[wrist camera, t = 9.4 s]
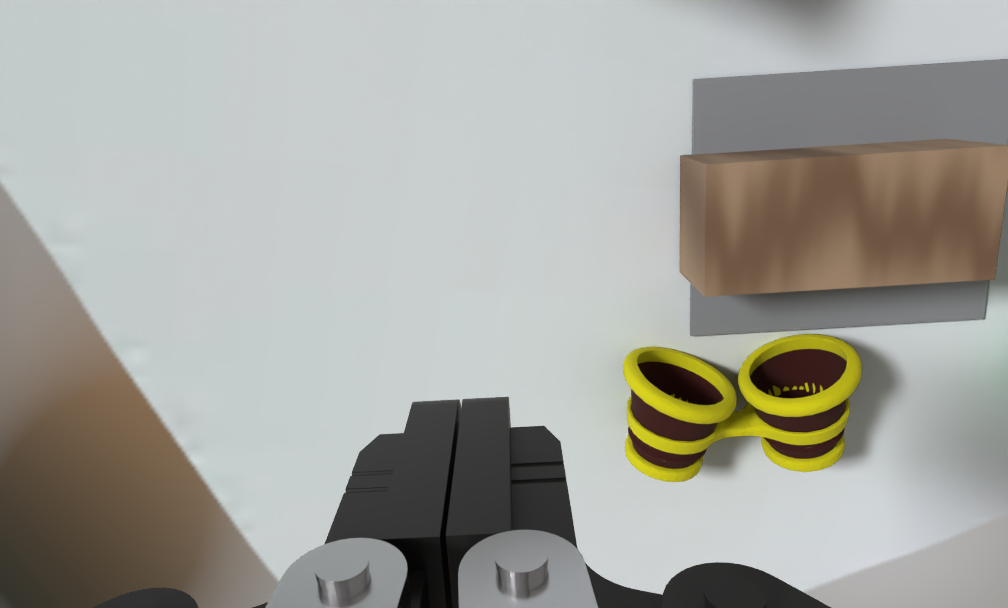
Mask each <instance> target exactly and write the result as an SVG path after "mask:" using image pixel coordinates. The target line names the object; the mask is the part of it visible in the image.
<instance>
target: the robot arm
mask: <svg viewBox="0 0 1008 608" xmlns="http://www.w3.org/2000/svg"><path fill="white" fill-rule="evenodd" d="M94 608H198V606H197V604H196V602H195V600H194V599H193V598H192V597H191V596H190V595H188V594H186V593H185V592H183V591H180V590H176V589H171V588H150V589H143V590H138V591H134V592H130V593H127V594H123V595H120V596H117V597H115V598H113V599H110V600H108V601H106V602H104V603H102V604H100V605H98V606H96V607H94ZM253 608H831V607H829V606H827V605H825V604H823V603H822V602H820V601H818V600H816V599H814V598H813V597H811V596H809V595H807V594H805V593H803V592H802V591H800V590H798V589H796V588H794V587H792V586H791V585H789V584H787V583H785V582H783V581H781V580H780V579H778V578H776V577H774V576H772V575H770V574H768V573H766V572H764V571H761V570H758V569H755V568H752V567H749V566H744V565H740V564H733V563H717V562H716V563H705V564H700V565H696V566H693V567H690V568H687V569H685V570H683V571H681V572H680V573H678V574H677V575H675V576H674V577H673V578H672V579H671V580H670V581H669V583H668V584H667V585H666V587H665V590H664V592H663V595H661V594H656V593H650V592H645V591H640V590H635V589H631V588H627V587H624V586H621V585H618V584H615V583H613V582H611V581H609V580H607V579H605V578H603V577H601V576H600V575H598V574H597V573H595V572H594V571H593V570H592V569H591V568H590V567H589V566H588V565H587V564H586V563H585V561H584V559H583V556H582V555H581V553H580V552H579V550H578V548H577V544H576V538H575V532H574V525H573V519H572V513H571V506H570V500H569V494H568V487H567V482H566V475H565V469H564V464H563V456H562V450H561V443H560V441H559V440H558V439H557V438H556V437H555V436H554V435H553V434H552V433H551V432H550V431H549V430H548V429H547V428H546V427H545V426H532V427H513V428H511V424H510V408H509V397H495V398H476V399H463V401H462V408H461V404H460V400H441V401H422V402H413V403H412V406H411V409H410V413H409V417H408V420H407V424H406V427H405V431H404V433H400V434H380V435H379V436H377V437H376V438H375V439H374V440H373V441H372V442H371V443H369V444H368V445H367V446H366V447H365V448H364V449H363V450H362V451H360V453H359V455H358V458H357V460H356V463H355V466H354V468H353V471H352V476H350V479H349V481H348V484H347V487H346V493H344V495H343V497H342V500H341V502H340V505H339V508H338V510H337V513H336V515H335V518H334V521H333V523H332V526H331V529H330V531H329V534H328V536H327V539H326V542H325V544H324V545H322V546H319V547H317V548H315V549H313V550H311V551H309V552H308V553H306V554H304V555H303V556H301V557H300V558H299V559H298V560H296V561H295V562H294V563H293V564H292V565H291V566H290V567H289V568H288V569H287V570H286V572H285V573H284V575H283V576H282V578H281V580H280V582H279V583H278V585H277V587H276V589H275V591H274V593H273V594H272V596H271V598H270V600H269V602H267V603H265V604H262V605H259V606H256V607H253Z"/></svg>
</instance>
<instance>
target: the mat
mask: <svg viewBox="0 0 1008 608" xmlns="http://www.w3.org/2000/svg"><path fill="white" fill-rule="evenodd" d="M934 139H955V140H965V141H975V142H985V143H995V144H1005V145H1007V142H1008V59H1000V60H985V61H969V62H954V63H938V64H923V65H908V66H892V67H877V68H861V69H846V70H830V71H815V72H800V73H784V74H769V75H753V76H738V77H722V78H707V79H693V116H692V155H696V154H712V153H728V152H743V151H759V150H775V149H791V148H807V147H823V146H839V145H855V144H871V143H886V142H902V141H918V140H934ZM988 284H989V280H978V281H961V282H944V283H927V284H910V285H894V286H877V287H860V288H843V289H826V290H810V291H793V292H776V293H759V294H742V295H726V296H709V297H704V296H703V295H702V294H701V293H700V292H699V291H698V290H697V289H696V288H695V287H694V286H693V285H692V284H691V285H690V335H691V336H702V335H719V334H736V333H753V332H770V331H787V330H804V329H821V328H838V327H855V326H872V325H889V324H906V323H923V322H940V321H957V320H975V319H984V314H985V307H986V299H987V292H988Z"/></svg>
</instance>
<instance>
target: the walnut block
mask: <svg viewBox="0 0 1008 608" xmlns="http://www.w3.org/2000/svg"><path fill="white" fill-rule="evenodd" d="M1007 184H1008V145H1005V144H995V143H985V142H975V141H965V140H955V139H934V140H918V141H902V142H886V143H871V144H855V145H839V146H823V147H807V148H791V149H775V150H759V151H743V152H728V153H712V154H696V155H680V273H681V274H682V275H683V276H684V277H685V278H686V279H687V280H688V281H689V282H690V283H691V284H692V285H693V286H694V287H695V288H696V289H697V290H698V291H699V292H700V293H701V294H702V295H703V296H704V297H709V296H726V295H742V294H759V293H776V292H793V291H810V290H826V289H843V288H860V287H877V286H894V285H910V284H927V283H944V282H961V281H978V280H994V279H995V273H996V266H997V258H998V251H999V243H1000V236H1001V229H1002V221H1003V214H1004V207H1005V199H1006V192H1007Z"/></svg>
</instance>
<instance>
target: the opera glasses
mask: <svg viewBox="0 0 1008 608" xmlns="http://www.w3.org/2000/svg"><path fill="white" fill-rule="evenodd" d="M798 349H799V350H798ZM842 357H843V358H842ZM663 362H664V363H663ZM689 370H690V371H689ZM623 373H624V376H625V379H626V381H627V383H628V384H629V386H630V388H631V397H630V398H629V400H628V402H627V420H628V424H629V427H628V433H629V435H628V436H627V439H626V443H625V453H626V457H627V458H628V460H629V461H630V463H631V464H632V465H633V466H634V467H635V468H636V469H637V470H639V471H641V472H642V473H644V474H645V475H647V476H650V477H652V478H655V479H658V480H662V481H667V482H681V481H686V480H689V479H691V478H693V477H694V476H696V475H697V474H698V472H699V471H700V468H701V466H702V462H703V455H704V454H705V452H706V450H707V448H708V447H709V446H710V445H711V444H713V443H714V442H716V441H718V440H721V439H723V438H728V437H736V436H760V437H761V441H762V447H763V450H764V452H765V454H766V456H767V457H768V458H769V459H770V460H771V461H772V462H773V463H775V464H777V465H779V466H780V467H783V468H786V469H789V470H793V471H801V472H810V471H819V470H822V469H824V468H827V467H830V466H832V465H833V464H834V463H835V462H837V461H838V460H839V459H840V458H841V456H842V454H843V452H844V448H845V440H844V435H843V433H844V427H845V426H846V423H847V420H848V416H849V412H850V402H849V399H848V397H850V396H851V394H852V393H853V392H854V390H855V389H856V388H857V386H858V384H859V382H860V380H861V373H862V365H861V360H860V357H859V355H858V354H857V352H856V351H855V349H854V348H853V347H852V346H850V345H849V344H848V343H846V342H845V341H843V340H840V339H838V338H835V337H832V336H827V335H821V334H801V335H793V336H789V337H784V338H780V339H778V340H775V341H772V342H770V343H767V344H765V345H763V346H762V347H760V348H759V349H757V350H755V351H754V352H753V353H752V354H751V355H749V356H748V358H747V359H746V360H745V361H744V362H743V364H742V366H741V368H740V370H739V375H738V385H739V388H740V392H741V393H742V395H743V396H744V398H745V399H746V400H747V401H748V402H749V403H748V404H747V405H746V407H745V408H744V409H742V410H740V411H737V412H733V411H734V410H735V407H736V392H735V389H734V388H733V386H732V384H731V382H730V381H729V380H728V379H727V378H726V377H725V376H724V375H723V374H722V373H721V372H719V371H718V370H717V369H715V368H714V367H713V366H711V365H709V364H707V363H706V362H704V361H702V360H700V359H698V358H696V357H694V356H691V355H689V354H686V353H684V352H680V351H676V350H673V349H668V348H660V347H644V348H639V349H636V350H633V351H632V352H630V353H629V354H628V355H627V357H626V358H625V360H624V364H623ZM750 375H751V376H750ZM720 392H721V393H720Z"/></svg>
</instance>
